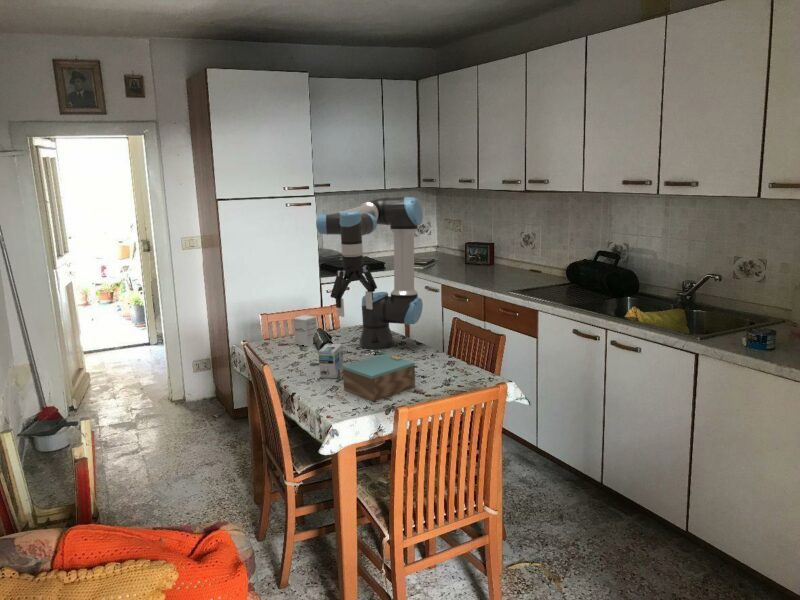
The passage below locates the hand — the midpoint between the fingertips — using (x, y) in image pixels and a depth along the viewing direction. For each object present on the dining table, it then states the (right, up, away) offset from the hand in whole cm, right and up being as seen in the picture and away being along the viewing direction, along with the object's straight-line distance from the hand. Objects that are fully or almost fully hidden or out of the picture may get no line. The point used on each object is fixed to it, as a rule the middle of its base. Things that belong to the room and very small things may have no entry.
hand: (355, 312), depth 236 cm
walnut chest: (+9, -27, -4) cm, 29 cm away
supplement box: (-26, -16, +56) cm, 64 cm away
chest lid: (+9, -19, -6) cm, 22 cm away
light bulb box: (-10, -24, +14) cm, 30 cm away
